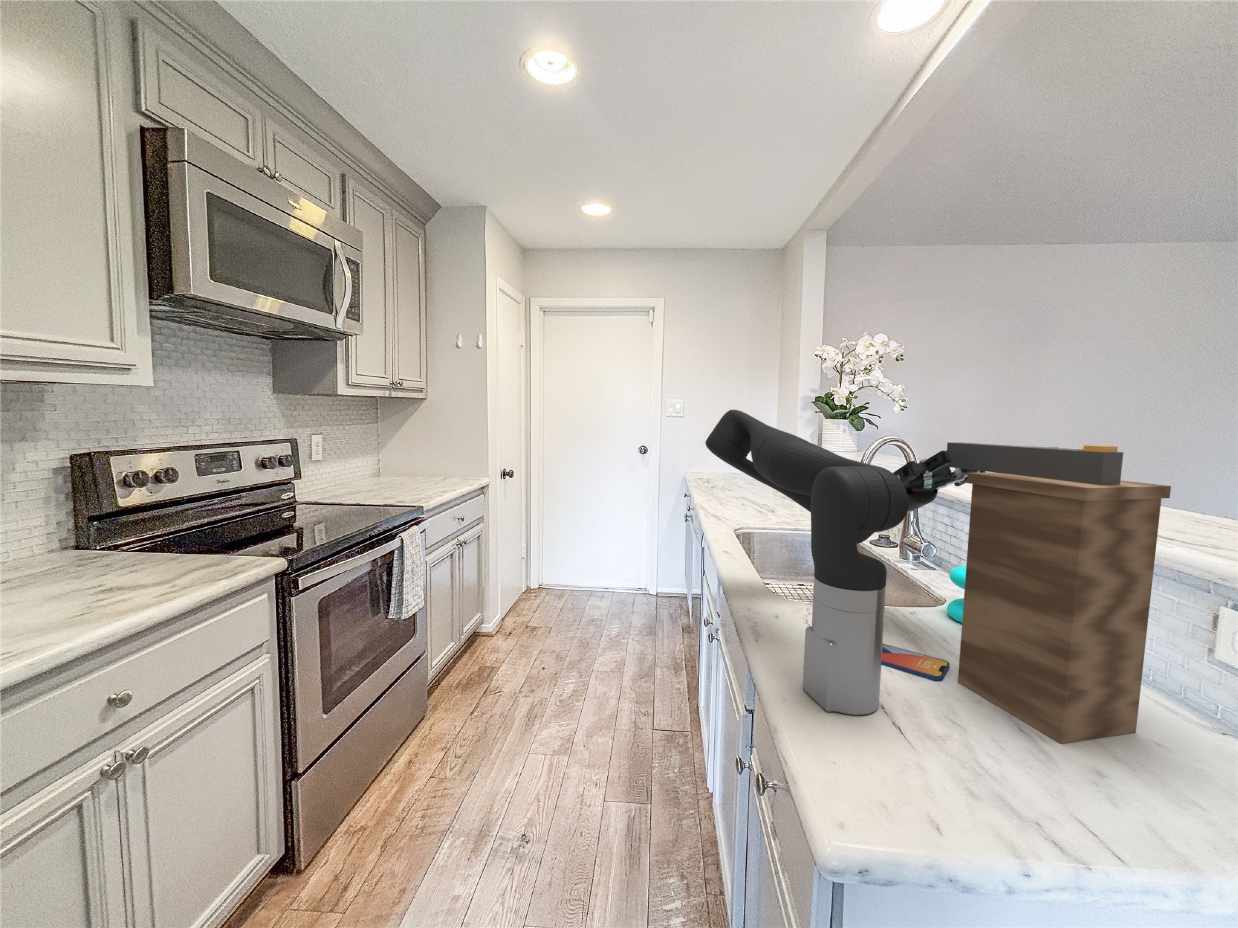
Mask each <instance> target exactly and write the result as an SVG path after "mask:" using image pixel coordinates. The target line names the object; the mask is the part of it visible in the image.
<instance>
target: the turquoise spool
mask: <svg viewBox="0 0 1238 928" xmlns="http://www.w3.org/2000/svg"><path fill="white" fill-rule="evenodd" d="M965 578H966V565H964V566H963V565H962V566H956V567H954V568H952V569H951V570H950V572H949V579H950V581H951V582H952V583H953V584H954V585H955V586H956V587H959V588H960V589H961V590H964V591H965ZM963 605H964V597H961V598H957V599H953V600H952V601H951V600H950V602H948V605H947V606H946V610H947V611H946V612H947V614H948V615H949V616H950V617H951V618H952V619H953V620H955V621H957V622H958V623H961V624H962V618H963Z"/></svg>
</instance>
